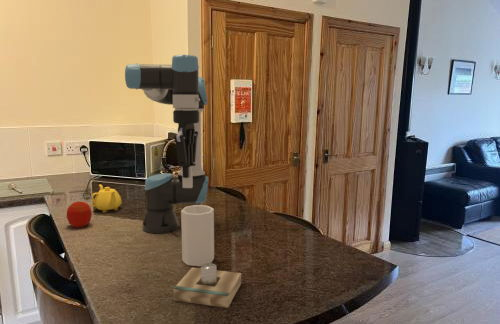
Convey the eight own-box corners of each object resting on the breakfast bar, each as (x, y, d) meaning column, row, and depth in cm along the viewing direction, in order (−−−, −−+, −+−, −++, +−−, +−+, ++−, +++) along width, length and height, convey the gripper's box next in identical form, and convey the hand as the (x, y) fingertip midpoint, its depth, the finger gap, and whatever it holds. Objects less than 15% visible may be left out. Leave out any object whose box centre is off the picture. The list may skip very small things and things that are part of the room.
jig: (173, 300, 108) (173, 287, 107) (192, 277, 121) (192, 266, 121) (227, 307, 104) (227, 295, 104) (241, 283, 118) (241, 272, 117)
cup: (200, 269, 127) (199, 216, 124) (175, 261, 133) (174, 210, 130) (220, 258, 136) (220, 208, 133) (196, 251, 142) (195, 203, 139)
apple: (96, 225, 168) (94, 200, 166) (73, 231, 161) (71, 205, 159) (86, 220, 175) (84, 196, 173) (63, 225, 168) (61, 200, 166)
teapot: (84, 207, 195) (83, 185, 193) (113, 202, 204) (112, 181, 202) (98, 217, 180) (96, 193, 178) (128, 211, 189) (127, 189, 187)
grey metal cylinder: (198, 294, 111) (198, 268, 110) (204, 287, 116) (204, 262, 114) (213, 297, 110) (213, 271, 109) (219, 289, 114) (218, 264, 113)
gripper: (189, 110, 105) (191, 193, 109) (205, 108, 118) (206, 183, 122) (164, 110, 107) (166, 191, 111) (183, 108, 120) (184, 182, 124)
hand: (187, 187), depth 117 cm, fingers closed
